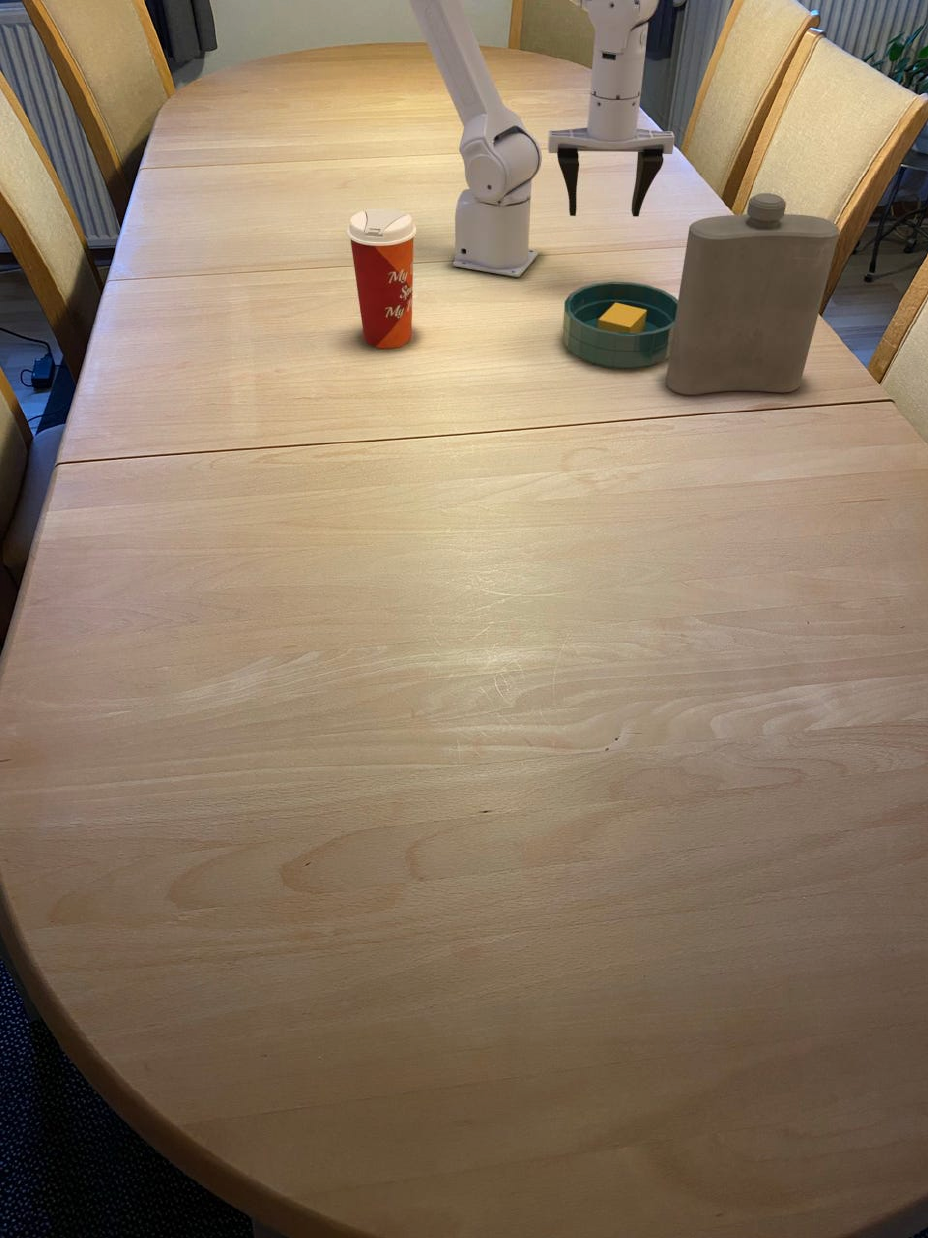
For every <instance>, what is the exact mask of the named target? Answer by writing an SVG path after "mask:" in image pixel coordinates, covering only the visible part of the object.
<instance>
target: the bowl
mask: <svg viewBox="0 0 928 1238" xmlns="http://www.w3.org/2000/svg"><path fill="white" fill-rule="evenodd" d="M615 303H620V304H624V305H628V306H632V307H636V308H641V309H645V310H647V313H646V320H645V328H644V332H641V333H617V332H612V331H606V330H601V329H598V320H599V318H600V317H601V316H602V315H603V314H604V313H605V312H607V311H608V310H609V309H610V308H611V307H612V306H613V305H614V304H615ZM677 305H678V298H677V297H676V296H674V295H672V294H671V293H669V292H667V291H665V290H664V289H661V288H658V287H655V286H652V285H649V284H643V283H637V282H632V281H631V282H630V281H605V282H596V283H591V284H589V285H585V286H582V287H579V288H578V289H576V290H574V291H572V292H571V293H570V294H569V295H568V296H567V297H566V299H565V300H564V303H563V317H562V330H561V331H562V332H561V334H562V335H561V339H562V340H561V341H562V342H563V344H564V345H565V347H566V348H567V350H568V351H570V352H571V354H573V355H574V356H575V357H576V358H578V359H580V360H581V361H583V362H585V363H588V364H590V365H594V366H596V367H600V368H604V369H610V370H625V371H626V370H628V371H629V370H640V369H645V368H650V367H653V366H657V365H659V364H661V363H663V362H664V361H666V360H667V359H669V356H670V350H671V343H672V337H673V330H674V324H675V318H676V311H677Z"/></svg>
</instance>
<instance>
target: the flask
mask: <svg viewBox="0 0 928 1238" xmlns="http://www.w3.org/2000/svg"><path fill="white" fill-rule="evenodd" d="M786 206H787V201H786V200H785V199H784V198H783V197H782V196H780V195H778V194H776V193H769V192H762V193H757V194H755V195H753V196H752V197H750V198H749V200H748V203H747V208H746V209H747V210H746V213H745V214H743V213H742V214H729V215H717V216H710V217H709V216H708V217H705V218H701V219H698V220H696V221H694V222H692V223H691V224H690V225H689V227H688V228H689V229H688V234H687V240H686V248H685V253H684V259H683V267H682V271H681V272H682V273H681V280H680V287H679V292H678V298H677V300H678V305H677V311H676V318H675V324H674V330H673V337H672V343H671V350H670V356H669V358H668V364H667V370H666V376H665V384H666V386H667V387H668V388H669V389H670V390H672V391H673V392H675V393H676V394H680V395H683V396H698V395H704V394H710V393H721V392H746V391H747V392H765V393H767V392H768V393H777V394H778V393H779V394H784V393H791V392H794V391H795V390H797V389H799V388H800V386H801V383H802V379H803V375H804V371H805V367H806V365H807V364H806V363H807V360H808V356H809V352H810V348H811V344H812V341H813V337H814V333H815V328H816V325H817V321H818V317H819V314H820V309H821V307H822V302H823V298H824V295H825V290H826V286H827V282H828V279H829V275H830V271H831V267H832V263H833V259H834V256H835V252H836V248H837V244H838V241H839V237H840V232H841V229H840V227H839V226H838V225H837V224H836V223H835V222H833V221H832V220H830V219H827V218H824V217H819V216H814V215H805V214H792V213H791V214H789V213H788V214H787V213H785V211H786Z"/></svg>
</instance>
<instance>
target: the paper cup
mask: <svg viewBox="0 0 928 1238" xmlns="http://www.w3.org/2000/svg"><path fill="white" fill-rule="evenodd" d="M416 234H417V228H416V226H415V225H414V222H413V219H412V217H411V215H410V214H409V213H407V212H405V211H402V210H399V209H395V208H386V207H385V208H383V207H382V208H381V207H380V208H379V207H378V208H372V209H365V210H362V211H359V212H356V213H355V214H354V215H352V216H351V218H350V219H349V226H348V227H347V230H346V235H347V237H348V238H349V240H350V246H351V253H352V254H351V255H352V262H353V270H354V276H355V283H356V284H355V285H356V292H357V298H358V304H359V313H360V318H361V326H362V332H363V337H364V340H365V343H366V344H368V345H369V346H371V347H373V348H376V349H377V348H378V349H396V348H399V347H400V348H401V347H403V346H404V345H406V344H408V343H409V342H410V341H411V338H412V326H413V324H412V323H413V291H414V289H413V287H414V286H413V285H414V284H413V283H414V282H413V281H414V238H415V235H416Z"/></svg>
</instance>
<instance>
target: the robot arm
mask: <svg viewBox="0 0 928 1238" xmlns="http://www.w3.org/2000/svg"><path fill="white" fill-rule="evenodd" d="M569 1H570V2H571V3H573V4H574V5H576V6H578V7H579V8H580V9H581V10H583V11H585V12H586V13H587V14H588V19H589V21H590V23H591V25H592V26H593V29H594V42H593V53H592V56H593V57H592V64H591V65H592V66H591V79H590V91H589V100H588V113H587V115H588V116H587V126H586V127H579V128H578V127H577V128H569V129H558V130H548V138H547V139H548V140H547V149H548V150H547V151H548V153H549V154H556V157H557V162H558V166H559V168H560V171H561V174H562V177H563V179H564V183H565V186H566V190H567V195H568V211H569V216H570V217H576V216H577V202H578V201H577V190H578V179H579V171H580V161H579V158H580V154H579V152H603V153H604V152H607V153H609V152H613V153H616V152H617V153H619V152H621V153H637V158H636V173H635V184H634V188H633V194H632V200H631V209H630V210H631V215H632V217H640V213H641V209H642V205H643V203H644V200H645V197H646V195H647V194H648V191H649V189H650V187H651V185H652V183H653V181H654V180H655V178H656V176H657V175H658V173H659V172H660V171H661V169H662V167H663V165H664V156H663V155H673V153H674V152H673V151H674V145H675V138H676V137H675V135H674V132H673V131H669V130H668V131H667V130H666V131H665V130H664V131H663V130H654V129H647V128H640V127H639V128H638V121H639V112H640V102H641V94H642V87H643V86H642V85H643V77H644V68H645V67H644V66H645V58H646V51H647V50H646V49H647V39H648V38H647V37H648V30H649V22H648V20H649V19H650V18H652V16H653V15H654V14H655V12H656V11H657V9H658V5H659V3H660V0H569ZM407 2H408V3H409V6H410V8H411V10H412V12H413V14H414V16H415V19H416V21H417V23H418V26H419V28H420V30H421V33H422V35H423V37H424V39H425V42H426V44H427V46H428V49H429V52H430V53H431V55H432V57H433V61H434V62H435V65H436V67H437V69H438V71H439V73H440V76H441V78H442V80H443V82H444V85H445V87H446V89H447V93H448V94H449V97H450V99H451V102H452V103H453V105H454V108H455V110H456V112H457V114H458V118H459V119H460V121H461V124H462V126H463V130H462V135H461V138H460V143H459V147H458V151H459V153H460V156H461V158H462V161H463V165H464V177H465V183H466V184H467V187H468V188H466V189H463V190H462V192H461V193H460V195H459V197H458V199H457V202H456V207H455V215H454V250H455V251H454V253H455V254H454V258H455V259H454V261H453V262H452V264H453V266H454V267H456V268H457V267H458V268H463V269H468V270H475V271H478V272H479V271H480V272H485V273H491V274H496V275H502V276H509V277H515V278H519V277H521V276H522V275H523V273H524V272H525V271H526V270H527V268H529V266H530V265H531V264H532V263H533V262H534V261H535V259H536V258H537V257H538V256H539V252H538V250H533V249H529V245H530V227H531V226H530V225H531V224H530V222H531V219H530V218H531V203H532V202H531V200H532V185H533V183H532V182H533V181H532V180H533V179H534V178H535V177H537V174H539V171H540V169H541V167H542V161H543V155H542V150H541V147H540V144H539V142H538V141H537V139H536V138H535V137H534V136H533V134H531V133H530V131H528V130H527V129H526V127H525V125H524V123H523V121H522V118H521V116H520V115H519V114H517V113H516V112H514V111H513V110H511V109H510V108H508V107H507V106H505V104H504V103H503V101H502V98H501V95H500V93H499V91H498V88H497V86H496V84H495V82H494V79H493V77H492V74H491V71H490V69H489V67H488V65H487V62H486V60H485V57H484V55H483V52H482V50H481V48H480V45H479V43H478V41H477V38H476V36H475V34H474V31H473V29H472V26H471V24H470V22H469V20H468V17H467V15H466V12H465V10H464V7H463V5H462V3H461V1H460V0H407Z"/></svg>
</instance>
